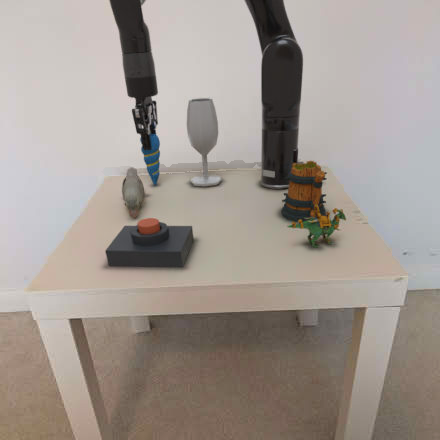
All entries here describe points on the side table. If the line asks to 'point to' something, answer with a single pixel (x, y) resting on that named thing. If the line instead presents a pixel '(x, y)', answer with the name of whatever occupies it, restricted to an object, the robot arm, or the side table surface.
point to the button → (148, 226)
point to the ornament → (152, 158)
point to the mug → (304, 192)
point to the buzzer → (151, 247)
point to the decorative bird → (133, 191)
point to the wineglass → (203, 135)
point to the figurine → (320, 225)
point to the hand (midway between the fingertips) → (150, 146)
